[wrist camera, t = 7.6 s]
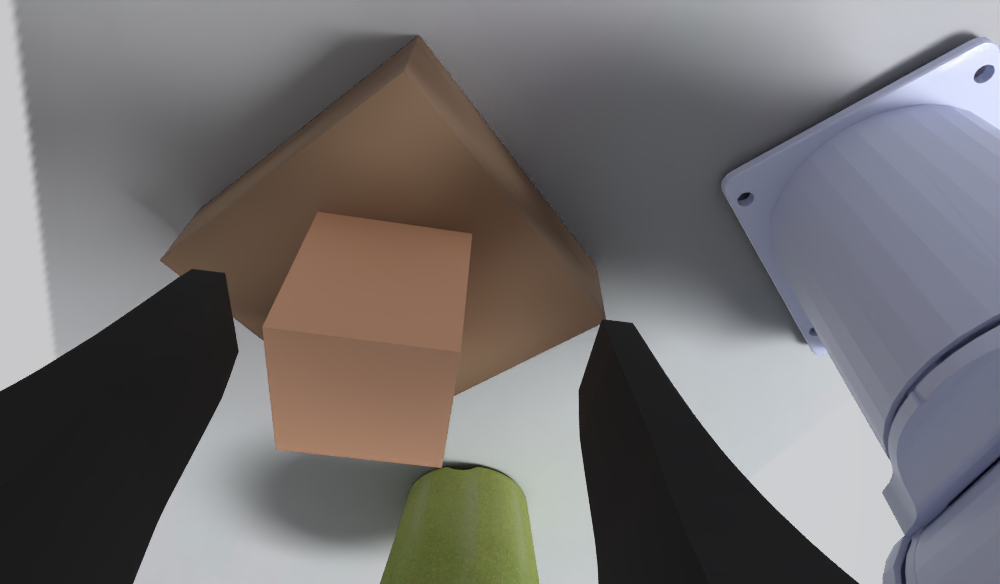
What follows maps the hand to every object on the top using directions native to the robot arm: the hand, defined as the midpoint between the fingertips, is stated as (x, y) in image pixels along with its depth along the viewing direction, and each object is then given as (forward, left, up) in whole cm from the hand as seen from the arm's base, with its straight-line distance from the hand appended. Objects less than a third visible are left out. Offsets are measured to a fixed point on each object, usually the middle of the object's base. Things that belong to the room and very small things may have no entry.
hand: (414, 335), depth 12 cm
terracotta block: (-2, +4, -6) cm, 8 cm away
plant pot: (-16, +12, -10) cm, 22 cm away
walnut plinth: (-2, +4, -9) cm, 10 cm away
